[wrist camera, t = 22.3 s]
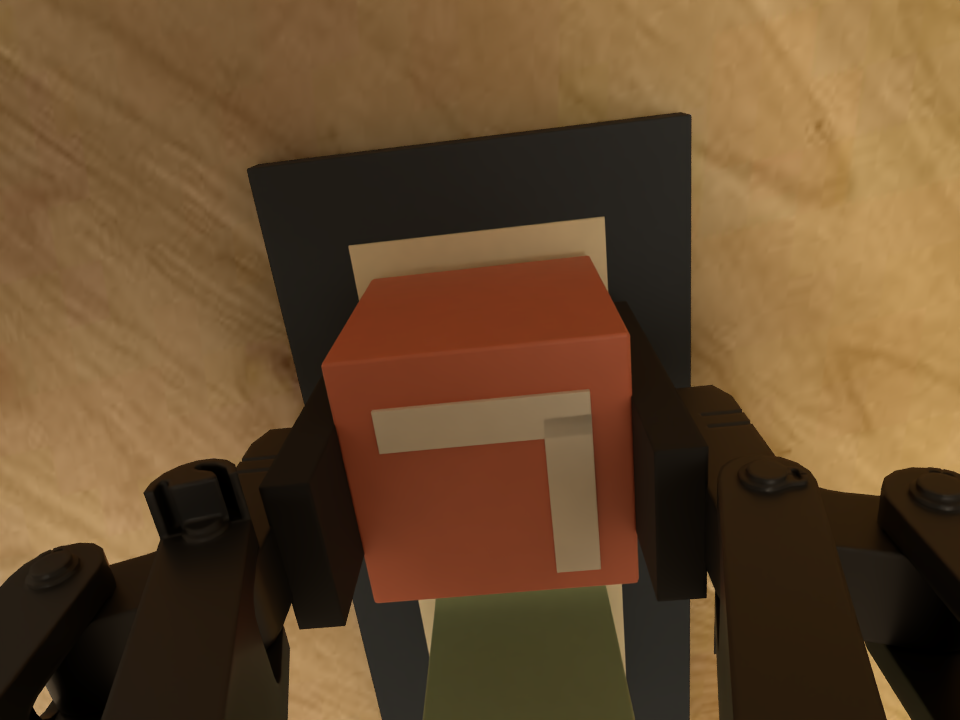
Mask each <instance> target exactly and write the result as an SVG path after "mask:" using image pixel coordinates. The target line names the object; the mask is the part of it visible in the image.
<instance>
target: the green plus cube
mask: <svg viewBox="0 0 960 720" xmlns="http://www.w3.org/2000/svg"><path fill="white" fill-rule="evenodd" d="M423 720H635V717H634V712H633V707H632V703H631V698H630V694H629V689H628V684H627V680H626V675H625V671H624V666H623V661H622V657H621V652H620V647H619V643H618V638H617V634H616V629H615V624H614V620H613V615H612V611H611V606H610V601H609V597H608V592H607V588H606V585H603V586H590V587H578V588H565V589H552V590H539V591H527V592H514V593H501V594H488V595H476V596H463V597H450V598H437V599H436V602H435V611H434V620H433V629H432V639H431V648H430V657H429V666H428V676H427V685H426V694H425V703H424V713H423Z"/></svg>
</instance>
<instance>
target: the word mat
mask: <svg viewBox="0 0 960 720" xmlns="http://www.w3.org/2000/svg"><path fill="white" fill-rule="evenodd" d="M247 173H248V177H249V181H250V185H251V189H252V194H253V198H254V202H255V206H256V210H257V214H258V218H259V222H260V226H261V230H262V234H263V238H264V242H265V246H266V250H267V254H268V258H269V262H270V267H271V271H272V275H273V279H274V283H275V287H276V291H277V295H278V299H279V303H280V307H281V311H282V315H283V319H284V323H285V327H286V331H287V335H288V340H289V344H290V348H291V352H292V356H293V360H294V364H295V368H296V372H297V376H298V380H299V384H300V388H301V392H302V396H303V400H304V404H306V402H307V401H308V399H309V397H310V395H311V394H312V392H313V390H314V388H315V387H316V385H317V383H318V381H319V379H320V378H321V376H322V374H323V372H322V368H321V366H322V363H323V361H324V359H325V358H326V356H327V354H328V353H329V351H330V349H331V348H332V346H333V344H334V343H335V341H336V339H337V338H338V336H339V334H340V333H341V331H342V329H343V328H344V326H345V324H346V323H347V321H348V319H349V318H350V316H351V314H352V313H353V311H354V309H355V307H356V306H357V304H358V302H359V301H360V299H361V297H362V296H363V294H364V292H365V291H366V289H367V287H368V286H369V284H370V282H371V281H372V280H373V279H378V278H388V277H397V276H406V275H415V274H424V273H433V272H442V271H451V270H460V269H469V268H479V267H488V266H497V265H506V264H515V263H524V262H533V261H542V260H551V259H560V258H570V257H579V256H590V258H591V260H592V262H593V264H594V266H595V268H596V270H597V272H598V274H599V276H600V278H601V280H602V281H603V283H604V285H605V287H606V289H607V291H608V293H609V295H610V297H611V299H612V301H613V302H619V301H627V303H628V305H629V307H630V308H631V310H632V312H633V314H634V315H635V317H636V319H637V321H638V323H639V324H640V326H641V328H642V330H643V331H644V333H645V335H646V337H647V338H648V340H649V342H650V344H651V346H652V347H653V349H654V351H655V353H656V354H657V356H658V358H659V360H660V362H661V363H662V365H663V367H664V369H665V370H666V372H667V374H668V376H669V377H670V379H671V381H672V383H673V385H674V386H675V388H686V387H691V115H689V114H686V113H682V112H680V113H672V114H663V115H655V116H647V117H639V118H631V119H623V120H615V121H606V122H598V123H590V124H582V125H574V126H566V127H558V128H549V129H541V130H533V131H525V132H517V133H509V134H501V135H492V136H484V137H476V138H468V139H460V140H452V141H444V142H435V143H427V144H419V145H411V146H403V147H395V148H387V149H378V150H370V151H362V152H354V153H346V154H338V155H330V156H321V157H313V158H305V159H297V160H289V161H281V162H273V163H264V164H258V165H255V166H253V167H251V168H248V169H247ZM637 542H638V570H639V579H638V582H636V583H629V584H616V585H606V588H607V592H608V597H609V601H610V606H611V611H612V615H613V620H614V624H615V629H616V634H617V638H618V643H619V647H620V652H621V657H622V661H623V666H624V671H625V675H626V680H627V684H628V689H629V694H630V698H631V703H632V707H633V712H634V717H635V720H690V599H687V600H674V601H660V602H657V599H656V595H655V592H654V589H653V585H652V582H651V579H650V576H649V572H648V569H647V566H646V562H645V559H644V556H643V553H642V549H641V546H640V543H639V539H638V536H637ZM435 602H436V599H425V600H412V601H399V602H386V603H376V602H375V601H374V597H373V593H372V588H371V584H370V579H369V575H368V571H367V566H366V562H365V557H364V558H363V561H362V565H361V569H360V573H359V576H358V580H357V584H356V588H355V591H354V595H353V603H354V607H355V611H356V615H357V619H358V624H359V628H360V632H361V636H362V640H363V644H364V648H365V652H366V656H367V660H368V664H369V668H370V672H371V676H372V680H373V684H374V688H375V692H376V697H377V701H378V705H379V709H380V713H381V717H382V720H423V713H424V703H425V694H426V685H427V676H428V666H429V657H430V648H431V639H432V629H433V620H434V611H435Z"/></svg>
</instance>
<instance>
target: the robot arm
mask: <svg viewBox="0 0 960 720" xmlns="http://www.w3.org/2000/svg"><path fill="white" fill-rule="evenodd" d="M613 303H614V305H615V307H616V309H617V311H618V313H619V315H620V317H621V319H622V320H623V322H624V324H625V326H626V328H627V330H628V332H629V334H630V346H631V374H632V396H631V405H632V433H633V460H634V487H635V514H636V533H637V536H638V539H639V543H640V546H641V549H642V553H643V556H644V559H645V562H646V566H647V569H648V572H649V576H650V579H651V582H652V585H653V589H654V592H655V595H656V599H657V602H660V601H674V600H687V599H700V598H707V572H708V574H709V576H710V579H711V581H712V583H713V586H714V588H715V625H714V654H716V656H717V678H718V700H719V720H887V719H886V715H885V712H884V708H883V705H882V702H881V698H880V695H879V691H878V688H877V684H876V681H875V678H874V674H873V671H872V667H871V664H870V661H869V657H868V654H867V650H866V647H867V649H868V651H869V652H870V654H871V655H872V657H873V659H874V660H875V662H876V663H877V665H878V667H879V668H880V670H881V671H882V673H883V675H884V676H885V678H886V679H887V681H888V683H889V684H890V686H891V687H892V689H893V691H894V692H895V694H896V696H897V697H898V699H899V700H900V702H901V704H902V705H903V707H904V708H905V710H906V712H907V713H908V715H909V716H910V718H911V720H960V474H958V473H956V472H954V471H949V470H945V469H944V470H941V469H940V468H931V467H928V468H914V467H912V468H907V469H902V470H897V471H894V472H893V473H891V474H889V475H888V476H886V477H885V478H884V481H883V484H882V488H881V495H880V496H875V495H865V494H855V493H845V492H838V491H832V490H827V489H823V488H820V487H818V483H817V481H816V479H815V478H814V476H813V475H812V473H811V472H810V471H809V470H808V469H806V468H804V467H803V466H801V465H800V464H798V463H796V462H793V461H791V460H788V459H785V458H782V457H776V456H775V455H774V453H773V452H772V451H771V449H770V448H769V447H768V445H767V444H766V442H765V441H764V440H763V438H762V437H761V436H760V434H759V433H758V431H757V430H756V429H755V427H754V426H753V424H750V420H749V419H748V418H747V416H746V415H745V413H744V412H743V413H742V409H741V408H740V406H739V405H738V404H737V402H736V401H735V400H734V398H733V397H732V396H731V395H729V394H727V393H726V392H724V391H722V390H720V389H718V388H717V387H715V386H713V385H707V386H696V387H686V388H675V386H674V385H673V383H672V381H671V379H670V377H669V376H668V374H667V372H666V370H665V369H664V367H663V365H662V363H661V362H660V360H659V358H658V356H657V354H656V353H655V351H654V349H653V347H652V346H651V344H650V342H649V340H648V338H647V337H646V335H645V333H644V331H643V330H642V328H641V326H640V324H639V323H638V321H637V319H636V317H635V315H634V314H633V312H632V310H631V308H630V307H629V305H628V303H627V301H619V302H613ZM144 496H145V498H146V501H147V504H148V506H149V509H150V512H151V515H152V517H153V520H154V523H155V525H156V528H157V531H158V534H159V536H160V542H159V545H158V548H157V551H156V552H153V553H150V554H147V555H143V556H140V557H136V558H133V559H129V560H126V561H122V562H119V563H115V564H112V565H109V563H108V560H107V558H106V556H105V553H104V551H103V548H101V547H99V546H98V545H96V544H94V543H76V544H71V545H66V546H60V547H57V548H53V550H48V551H46V552H44V553H42V554H40V555H39V556H38V557H36V558H35V559H33V560H31V561H29V562H28V563H26V564H24V565H23V566H22V567H21V568H19V569H18V570H17V571H16V572H15V573H14V574H12V575H11V576H10V577H9V578H8V579H7V580H6V581H5V582H4V583H3V585H2V586H1V587H0V720H288V689H289V658H290V647H289V643H288V639H287V636H286V632H285V629H284V626H283V624H284V622H285V619H286V616H287V614H288V611H289V608H290V606H291V603H292V606H293V609H294V612H295V616H296V619H297V623H298V626H299V629H311V628H324V627H337V626H345V625H346V621H347V617H348V614H349V610H350V606H351V602H352V599H353V595H354V591H355V588H356V584H357V580H358V576H359V573H360V569H361V565H362V561H363V558H364V550H363V546H362V542H361V537H360V533H359V528H358V524H357V520H356V515H355V511H354V506H353V502H352V497H351V493H350V489H349V484H348V480H347V475H346V471H345V467H344V462H343V458H342V453H341V449H340V445H339V440H338V436H337V431H336V427H335V424H334V421H333V416H332V412H331V407H330V403H329V399H328V394H327V390H326V385H325V381H324V377H323V374H322V376H321V378H320V379H319V381H318V383H317V385H316V387H315V388H314V390H313V392H312V394H311V395H310V397H309V399H308V401H307V402H306V404H305V406H304V408H303V410H302V411H301V413H300V415H299V417H298V418H297V420H296V422H295V424H294V426H293V427H292V428H283V429H272V430H269V431H268V432H267V433H265V434H264V435H263V436H261V437H260V438H259V439H257V440H256V441H255V442H253V443H252V444H251V446H250V447H249V449H248V450H247V452H246V453H245V455H244V456H243V458H242V462H240V463H239V464H238V466H237V467H236V466H235V464H233V463H231V462H230V461H228V460H223V459H206V460H198V461H194V462H191V463H187V464H184V465H181V466H178V467H176V468H174V469H172V470H170V471H168V472H166V473H164V474H162V475H161V476H160V477H158V478H157V479H155V480H154V481H153V482H151V483H150V485H149V486H148V487H147V489H146V490H145V491H144ZM864 641H865V644H866V647H865V644H864ZM45 685H46V687H47V689H48V691H49V693H50V695H51V697H52V699H53V700H52V702H51V703H50V705H49V706H48V708H47V709H46V711H45V712H44V713H43V714H42V715H41V716H40V717H39V716H38V715H37V714H36V712H35V710H34V708H33V705H34V703H35V701H36V699H37V697H38V695H39V694H40V692H41V691H42V689H43V688H44V687H45Z"/></svg>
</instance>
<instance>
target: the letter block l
mask: <svg viewBox="0 0 960 720" xmlns="http://www.w3.org/2000/svg"><path fill="white" fill-rule="evenodd" d="M321 368H322V372H323V377H324V381H325V385H326V390H327V394H328V399H329V403H330V407H331V412H332V416H333V421H334V424H335V427H336V431H337V436H338V440H339V445H340V449H341V453H342V458H343V462H344V467H345V471H346V475H347V480H348V484H349V489H350V493H351V497H352V502H353V506H354V511H355V515H356V520H357V524H358V528H359V533H360V537H361V542H362V546H363V550H364V557H365V562H366V566H367V571H368V575H369V579H370V584H371V588H372V593H373V597H374V601H375V602H376V603H386V602H399V601H412V600H425V599H437V598H450V597H463V596H476V595H488V594H501V593H514V592H527V591H539V590H552V589H565V588H578V587H590V586H603V585H616V584H629V583H636V582H638V579H639V570H638V542H637V533H636V514H635V487H634V460H633V433H632V405H631V396H632V374H631V346H630V334H629V332H628V330H627V328H626V326H625V324H624V322H623V320H622V319H621V317H620V315H619V313H618V311H617V309H616V307H615V305H614V303H613V301H612V299H611V297H610V295H609V293H608V291H607V289H606V287H605V285H604V283H603V281H602V280H601V278H600V276H599V274H598V272H597V270H596V268H595V266H594V264H593V262H592V260H591V258H590V256H579V257H570V258H560V259H551V260H542V261H533V262H524V263H515V264H506V265H497V266H488V267H479V268H469V269H460V270H451V271H442V272H433V273H424V274H415V275H406V276H397V277H388V278H378V279H373V280H372V281H371V282H370V284H369V286H368V287H367V289H366V291H365V292H364V294H363V296H362V297H361V299H360V301H359V302H358V304H357V306H356V307H355V309H354V311H353V313H352V314H351V316H350V318H349V319H348V321H347V323H346V324H345V326H344V328H343V329H342V331H341V333H340V334H339V336H338V338H337V339H336V341H335V343H334V344H333V346H332V348H331V349H330V351H329V353H328V354H327V356H326V358H325V359H324V361H323V363H322V366H321Z"/></svg>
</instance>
